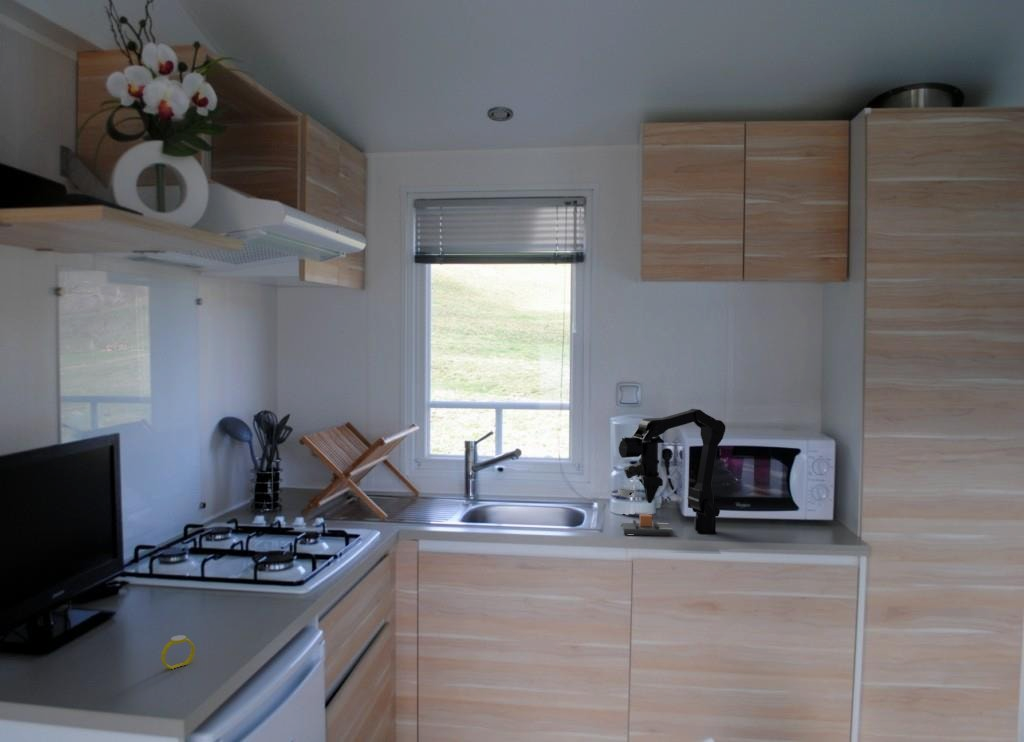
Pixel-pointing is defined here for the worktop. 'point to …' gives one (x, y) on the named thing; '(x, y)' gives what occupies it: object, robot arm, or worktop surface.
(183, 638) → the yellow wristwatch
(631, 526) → the panel
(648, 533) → the dark grey rod
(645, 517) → the orange block
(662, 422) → the robot arm
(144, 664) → the worktop surface
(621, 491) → the cup
